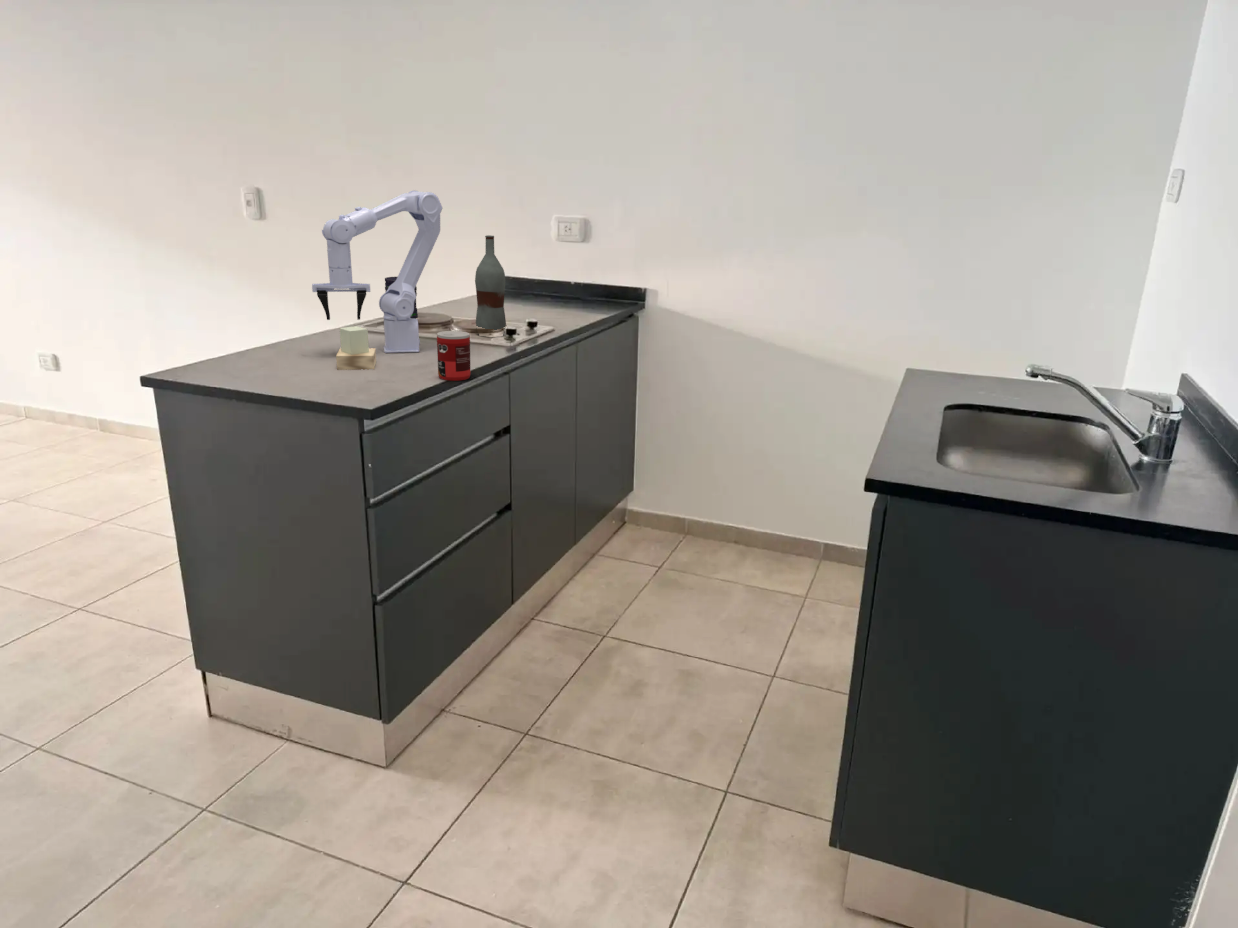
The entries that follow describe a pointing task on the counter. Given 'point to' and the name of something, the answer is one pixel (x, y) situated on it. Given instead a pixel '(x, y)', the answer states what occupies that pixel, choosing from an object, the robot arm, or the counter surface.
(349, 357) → the maple slab
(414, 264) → the robot arm
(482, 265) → the bottle
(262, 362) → the counter surface
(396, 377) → the counter surface
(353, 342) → the sage block
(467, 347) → the canned food
